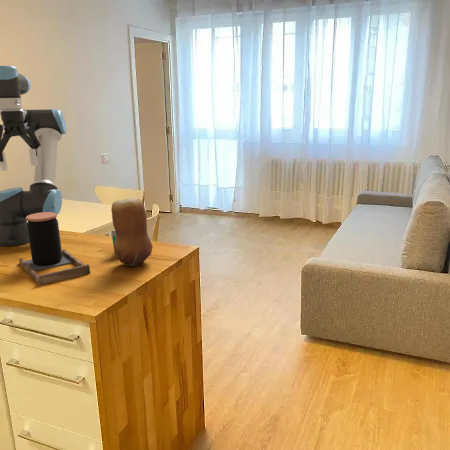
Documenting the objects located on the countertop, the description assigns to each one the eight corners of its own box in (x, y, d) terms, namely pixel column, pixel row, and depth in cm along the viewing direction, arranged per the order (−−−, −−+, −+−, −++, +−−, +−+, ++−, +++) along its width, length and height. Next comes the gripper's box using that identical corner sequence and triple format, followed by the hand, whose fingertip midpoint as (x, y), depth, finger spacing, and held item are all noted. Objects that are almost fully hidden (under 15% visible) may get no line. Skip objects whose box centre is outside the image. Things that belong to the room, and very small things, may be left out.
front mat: (23, 262, 169) (23, 261, 169) (62, 254, 178) (61, 253, 177) (32, 272, 159) (32, 270, 159) (72, 262, 167) (72, 261, 167)
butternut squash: (124, 258, 172) (119, 194, 165) (158, 259, 169) (153, 194, 163) (109, 270, 158) (102, 202, 152) (145, 272, 156) (140, 203, 149)
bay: (19, 263, 169) (18, 255, 168) (64, 253, 179) (63, 246, 178) (40, 285, 147) (38, 276, 146) (90, 273, 157) (89, 265, 156)
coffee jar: (68, 258, 171) (63, 212, 167) (50, 267, 161) (43, 219, 157) (45, 256, 175) (39, 211, 170) (26, 265, 165) (19, 218, 160)
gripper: (-13, 111, 151) (-3, 173, 157) (45, 109, 173) (52, 164, 178) (-27, 111, 154) (-17, 172, 160) (31, 109, 176) (39, 163, 182)
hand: (19, 168), depth 169 cm, fingers open, 13 cm apart
